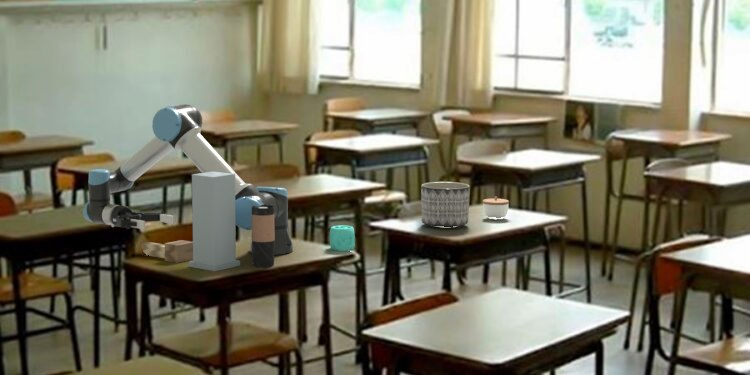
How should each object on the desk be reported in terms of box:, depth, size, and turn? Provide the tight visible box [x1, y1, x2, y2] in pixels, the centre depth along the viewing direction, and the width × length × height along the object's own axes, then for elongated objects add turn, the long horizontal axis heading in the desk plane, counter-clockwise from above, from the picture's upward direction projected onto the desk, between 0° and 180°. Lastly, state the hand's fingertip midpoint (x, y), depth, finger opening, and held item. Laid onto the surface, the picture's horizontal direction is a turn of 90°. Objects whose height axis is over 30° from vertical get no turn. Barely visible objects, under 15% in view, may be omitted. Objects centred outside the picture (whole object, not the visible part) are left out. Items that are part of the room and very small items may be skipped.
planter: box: [420, 181, 471, 227], centre depth 488 cm, size 19×19×16 cm
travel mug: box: [251, 205, 275, 268], centre depth 412 cm, size 8×8×20 cm
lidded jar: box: [482, 195, 510, 218], centre depth 506 cm, size 11×11×9 cm
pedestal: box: [188, 171, 241, 272], centre depth 409 cm, size 12×12×31 cm
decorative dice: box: [329, 224, 356, 252], centre depth 442 cm, size 8×8×8 cm
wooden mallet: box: [141, 239, 193, 264], centre depth 425 cm, size 20×8×6 cm, turn 53°
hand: (159, 222), depth 426 cm, fingers open, 13 cm apart
